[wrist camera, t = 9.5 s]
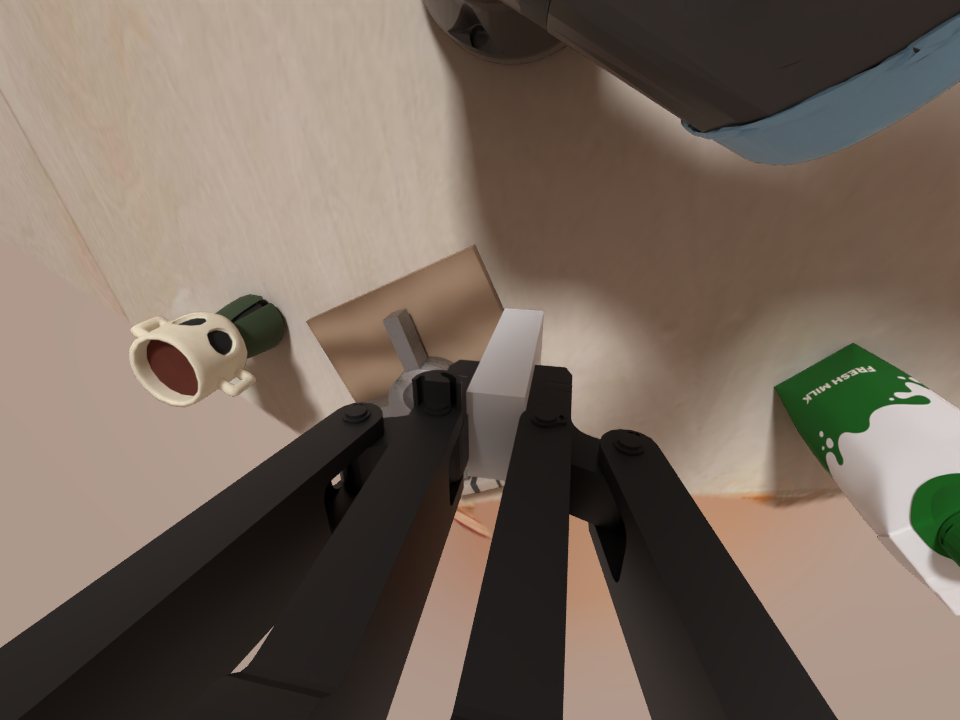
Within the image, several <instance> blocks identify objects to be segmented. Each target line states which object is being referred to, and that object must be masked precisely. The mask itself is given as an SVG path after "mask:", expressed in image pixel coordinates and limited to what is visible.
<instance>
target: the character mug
mask: <svg viewBox="0 0 960 720" xmlns="http://www.w3.org/2000/svg"><path fill="white" fill-rule="evenodd" d="M261 299H263V298H262V297H261V296H257V295H251V294H249V295H246V296H243V297H240V298H238V299H236V300H235V301H233V302H231V303H230V304H228V305H227V306H225V307H224V308H222V309H221V310H220V311H218V312H217V313H209V312H195V313H191V314H186V315H184V316H182V317H180V318H178V319H175V320H173V321H171V322H170V321H168V320H166V319H165V318H162V317H160V316H159V317H154V318H151V319H149V320H146V321H144V322H141V323H139V324H136V325H135V326H134V327H133V328H131V329H130V330H131V332H132V334H133V335H134V336H136V337H137V339H136V340H135V341H134V342H133V344H132V346H131V347H130V349H129V354H130V357H129V358H130V365H131V367H132V369H133V372H134V374H135V377H136V378H137V379H138V381H139V382H140V383H141V384H142V386H143V387H144V388H145V390H147V391H148V392H149V393H150V394H151V395H153V396H154V397H155V398H156V399H158V400H159V401H162V402H164V403H166V404H168V405H171V406H176V407H187V406H190V405H192V404H195V403H197V402H199V401H201V400H202V399H204V398H205V397H207V396H208V395H210V394H211V393H213V392H214V391H216V390H217V389H219V390H221V391H223V392H224V393H226V394H227V395H229V396H232V397H234V396H237V395H239V394H240V393H242V392H243V391H244V390H246V389H247V388H249V387H250V386H251V385H253V384H254V383H255V381H256V378H255V377H254V376H253V374H251V373H249V372H248V371H246V370H245V369H243V368H244V367H245V364H246V360H247V359H248V358H250V357H252V356H255V355H257V354H260V353H262V352H265V351H267V350H269V349H271V348H273V347H275V346H276V345H277V344H278V343H279V342H280V340H281V339H282V336H283V332H284V328H285V327H284V323H283V320H282V316H281V314H280V313H279V311H278V310H277V309H276V307H275V306H274V305H273V304H272V303H269V304H267V305H265V306H263V307H262V306H261V305H259V304H257V303H256V302H258V301H259V300H261ZM156 328H157V329H156ZM154 329H155V330H154ZM151 330H154V331H151ZM149 331H151V332H149ZM235 377H237V378H239V379H240V380H241V381H240V382H238V383H237V384H235V385H233V384H231V383H230V382H229V381H231V380H232V379H234V378H235Z"/></svg>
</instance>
